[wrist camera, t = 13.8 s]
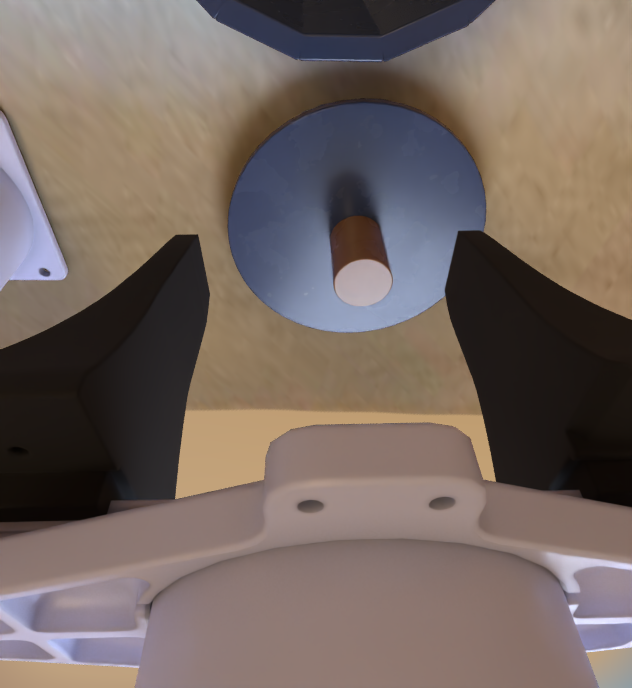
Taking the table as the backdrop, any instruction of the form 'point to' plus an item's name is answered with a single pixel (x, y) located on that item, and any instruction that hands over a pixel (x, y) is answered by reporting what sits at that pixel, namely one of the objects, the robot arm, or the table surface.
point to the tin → (345, 25)
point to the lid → (354, 214)
